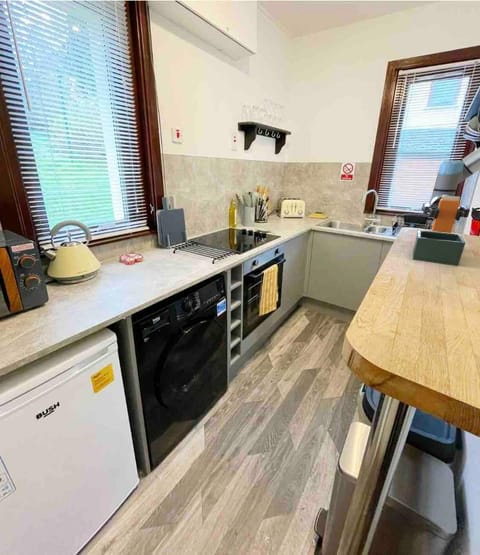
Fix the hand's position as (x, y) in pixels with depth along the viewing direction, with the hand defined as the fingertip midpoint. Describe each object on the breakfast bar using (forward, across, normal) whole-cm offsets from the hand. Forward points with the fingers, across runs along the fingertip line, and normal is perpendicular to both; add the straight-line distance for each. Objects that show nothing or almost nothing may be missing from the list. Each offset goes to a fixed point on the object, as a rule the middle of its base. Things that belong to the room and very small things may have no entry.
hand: (447, 215), depth 85 cm
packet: (-5, 0, -6) cm, 8 cm away
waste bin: (-5, 0, -15) cm, 16 cm away
